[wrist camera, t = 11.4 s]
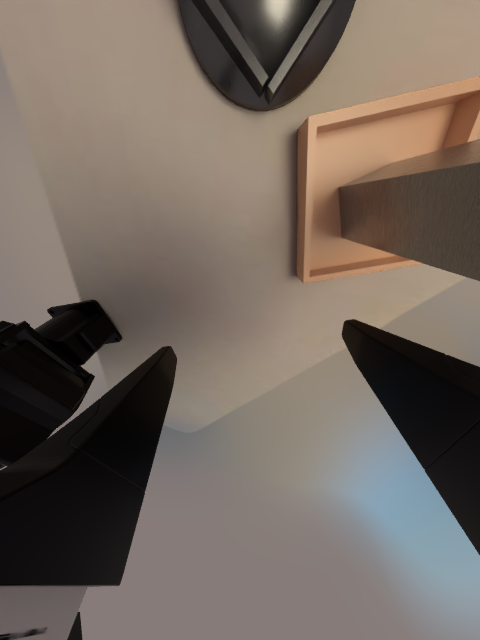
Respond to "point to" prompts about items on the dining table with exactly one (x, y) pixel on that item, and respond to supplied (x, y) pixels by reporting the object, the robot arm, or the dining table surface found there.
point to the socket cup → (264, 45)
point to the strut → (420, 209)
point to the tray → (369, 166)
